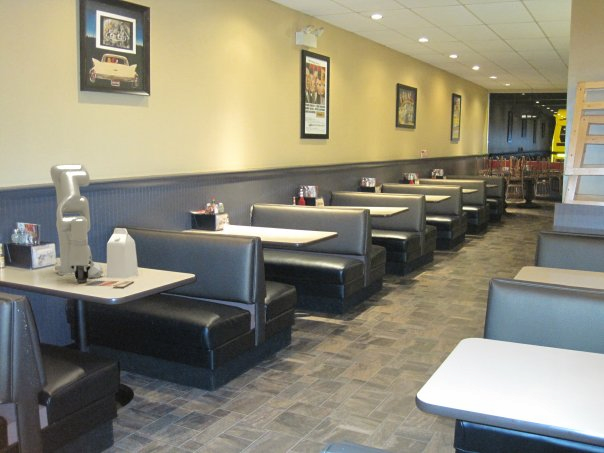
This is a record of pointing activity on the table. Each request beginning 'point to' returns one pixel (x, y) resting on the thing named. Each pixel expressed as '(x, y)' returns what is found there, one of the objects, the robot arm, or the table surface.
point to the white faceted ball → (95, 271)
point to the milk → (121, 255)
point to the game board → (106, 283)
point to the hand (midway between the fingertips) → (81, 278)
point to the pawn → (81, 275)
